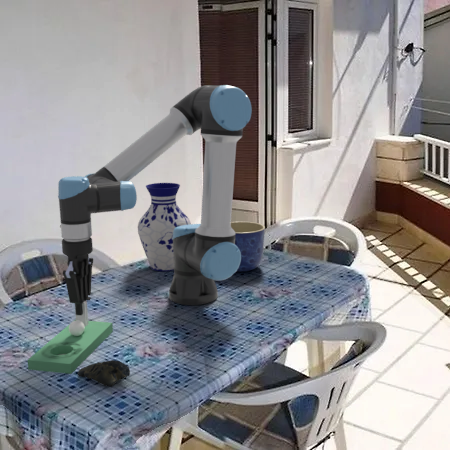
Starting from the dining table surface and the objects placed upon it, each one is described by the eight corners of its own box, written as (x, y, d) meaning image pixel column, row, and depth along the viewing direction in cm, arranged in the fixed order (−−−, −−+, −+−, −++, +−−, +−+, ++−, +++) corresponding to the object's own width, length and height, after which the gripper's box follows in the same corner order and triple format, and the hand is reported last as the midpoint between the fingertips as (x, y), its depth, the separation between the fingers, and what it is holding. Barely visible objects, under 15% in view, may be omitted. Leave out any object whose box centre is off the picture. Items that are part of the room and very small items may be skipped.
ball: (81, 319, 156) (78, 334, 155) (88, 323, 160) (85, 338, 158) (68, 317, 157) (64, 333, 156) (75, 321, 161) (71, 337, 159)
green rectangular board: (75, 328, 169) (74, 319, 169) (112, 331, 167) (112, 322, 166) (28, 369, 145) (27, 359, 145) (71, 373, 143) (70, 364, 142)
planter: (266, 275, 212) (266, 232, 209) (216, 275, 213) (216, 233, 209) (263, 261, 229) (263, 221, 225) (218, 261, 229) (217, 221, 225)
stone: (88, 369, 146) (86, 348, 145) (137, 378, 141) (135, 356, 140) (71, 382, 140) (69, 360, 139) (121, 392, 135) (120, 369, 134)
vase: (198, 261, 229) (196, 181, 222) (183, 277, 211) (180, 191, 204) (150, 258, 234) (146, 180, 227) (131, 273, 216) (127, 189, 209)
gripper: (74, 231, 163) (80, 314, 168) (50, 243, 150) (57, 333, 156) (101, 232, 161) (105, 316, 167) (78, 245, 149) (84, 336, 154)
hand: (82, 324), depth 161 cm, fingers closed
